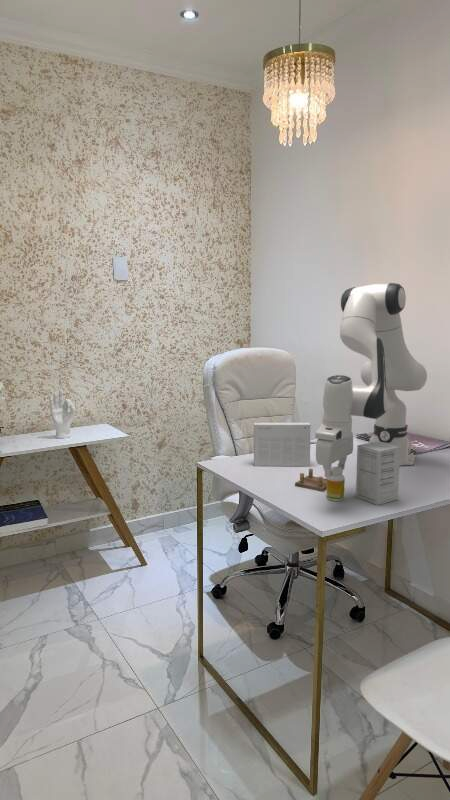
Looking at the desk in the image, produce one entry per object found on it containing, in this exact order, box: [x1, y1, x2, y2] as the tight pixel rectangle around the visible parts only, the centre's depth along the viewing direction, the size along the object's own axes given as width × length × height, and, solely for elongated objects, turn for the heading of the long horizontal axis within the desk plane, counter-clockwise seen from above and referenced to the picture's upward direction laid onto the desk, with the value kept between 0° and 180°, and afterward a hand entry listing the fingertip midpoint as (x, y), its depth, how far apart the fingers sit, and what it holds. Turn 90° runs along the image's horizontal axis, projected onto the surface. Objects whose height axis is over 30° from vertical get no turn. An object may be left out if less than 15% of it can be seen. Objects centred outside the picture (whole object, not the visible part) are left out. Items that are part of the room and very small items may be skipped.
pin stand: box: [294, 468, 327, 492], centre depth 186 cm, size 10×10×4 cm
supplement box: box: [355, 442, 400, 506], centre depth 171 cm, size 10×9×17 cm
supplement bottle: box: [325, 466, 346, 502], centre depth 172 cm, size 5×5×10 cm
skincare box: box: [253, 422, 311, 467], centre depth 209 cm, size 21×5×16 cm, turn 88°
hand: (334, 473), depth 171 cm, fingers open, 8 cm apart
